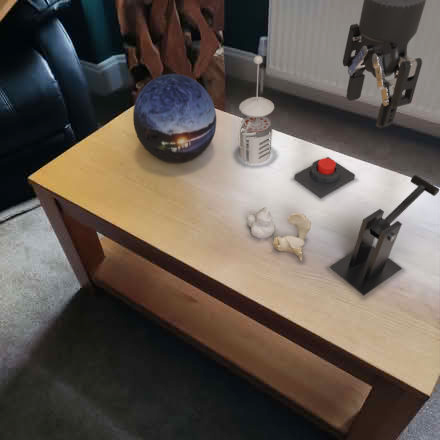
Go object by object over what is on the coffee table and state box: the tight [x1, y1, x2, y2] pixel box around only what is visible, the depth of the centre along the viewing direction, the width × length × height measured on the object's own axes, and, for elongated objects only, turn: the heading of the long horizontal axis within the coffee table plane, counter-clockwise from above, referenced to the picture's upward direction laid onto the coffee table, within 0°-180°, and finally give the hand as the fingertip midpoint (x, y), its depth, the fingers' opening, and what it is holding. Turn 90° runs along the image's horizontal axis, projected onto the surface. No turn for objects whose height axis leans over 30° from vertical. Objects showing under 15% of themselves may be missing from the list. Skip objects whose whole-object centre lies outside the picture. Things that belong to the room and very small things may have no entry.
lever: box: [369, 174, 440, 240], centre depth 77 cm, size 13×5×2 cm, turn 127°
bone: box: [272, 212, 312, 262], centre depth 88 cm, size 9×6×10 cm
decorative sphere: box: [132, 73, 217, 164], centre depth 104 cm, size 20×20×20 cm
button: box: [317, 157, 336, 175], centre depth 100 cm, size 4×4×2 cm
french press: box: [237, 55, 275, 165], centre depth 100 cm, size 10×12×25 cm
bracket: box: [329, 208, 403, 297], centre depth 81 cm, size 11×9×14 cm
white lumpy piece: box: [246, 206, 276, 239], centre depth 91 cm, size 5×7×8 cm
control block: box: [293, 156, 356, 200], centre depth 102 cm, size 11×9×4 cm
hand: (367, 111), depth 67 cm, fingers open, 8 cm apart
